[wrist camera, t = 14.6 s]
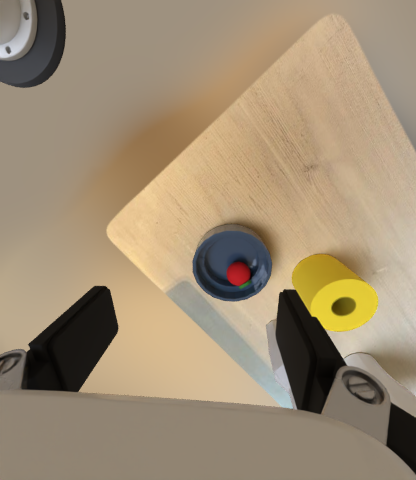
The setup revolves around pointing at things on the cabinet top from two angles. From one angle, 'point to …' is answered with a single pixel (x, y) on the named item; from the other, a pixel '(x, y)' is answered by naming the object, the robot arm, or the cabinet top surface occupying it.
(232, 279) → the toy tomato
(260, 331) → the cabinet top surface
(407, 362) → the cabinet top surface
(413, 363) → the cabinet top surface
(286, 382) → the faceted bottle
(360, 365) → the vase
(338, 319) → the yellow toilet paper roll
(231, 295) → the bowl
